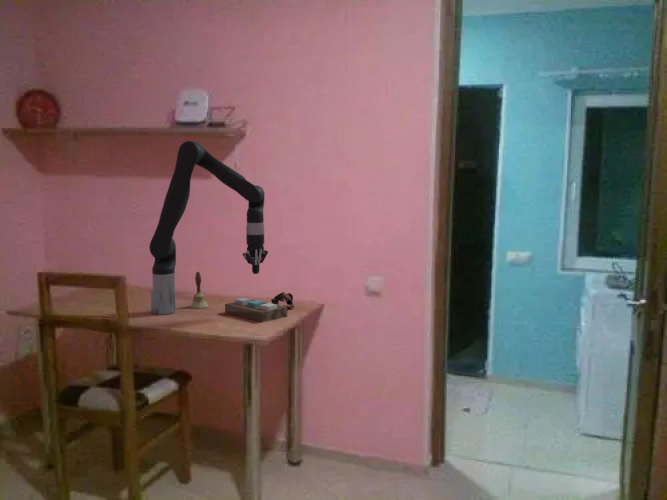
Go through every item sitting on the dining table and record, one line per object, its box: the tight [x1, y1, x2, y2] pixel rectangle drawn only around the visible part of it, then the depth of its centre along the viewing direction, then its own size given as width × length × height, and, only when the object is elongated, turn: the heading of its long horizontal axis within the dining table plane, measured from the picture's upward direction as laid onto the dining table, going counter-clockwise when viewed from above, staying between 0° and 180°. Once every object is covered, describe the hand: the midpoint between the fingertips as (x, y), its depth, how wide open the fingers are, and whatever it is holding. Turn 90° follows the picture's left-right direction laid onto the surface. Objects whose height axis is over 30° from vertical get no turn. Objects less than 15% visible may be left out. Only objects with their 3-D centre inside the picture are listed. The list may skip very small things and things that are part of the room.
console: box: [224, 299, 288, 323], centre depth 263 cm, size 14×24×4 cm, turn 50°
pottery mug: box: [270, 291, 295, 310], centre depth 277 cm, size 12×10×8 cm
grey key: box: [234, 297, 253, 305], centre depth 268 cm, size 5×5×2 cm
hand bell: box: [189, 271, 209, 310], centre depth 276 cm, size 8×8×16 cm
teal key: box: [248, 299, 265, 308], centre depth 263 cm, size 5×5×2 cm
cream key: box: [260, 302, 277, 311], centre depth 258 cm, size 5×5×2 cm
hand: (255, 273), depth 261 cm, fingers closed
